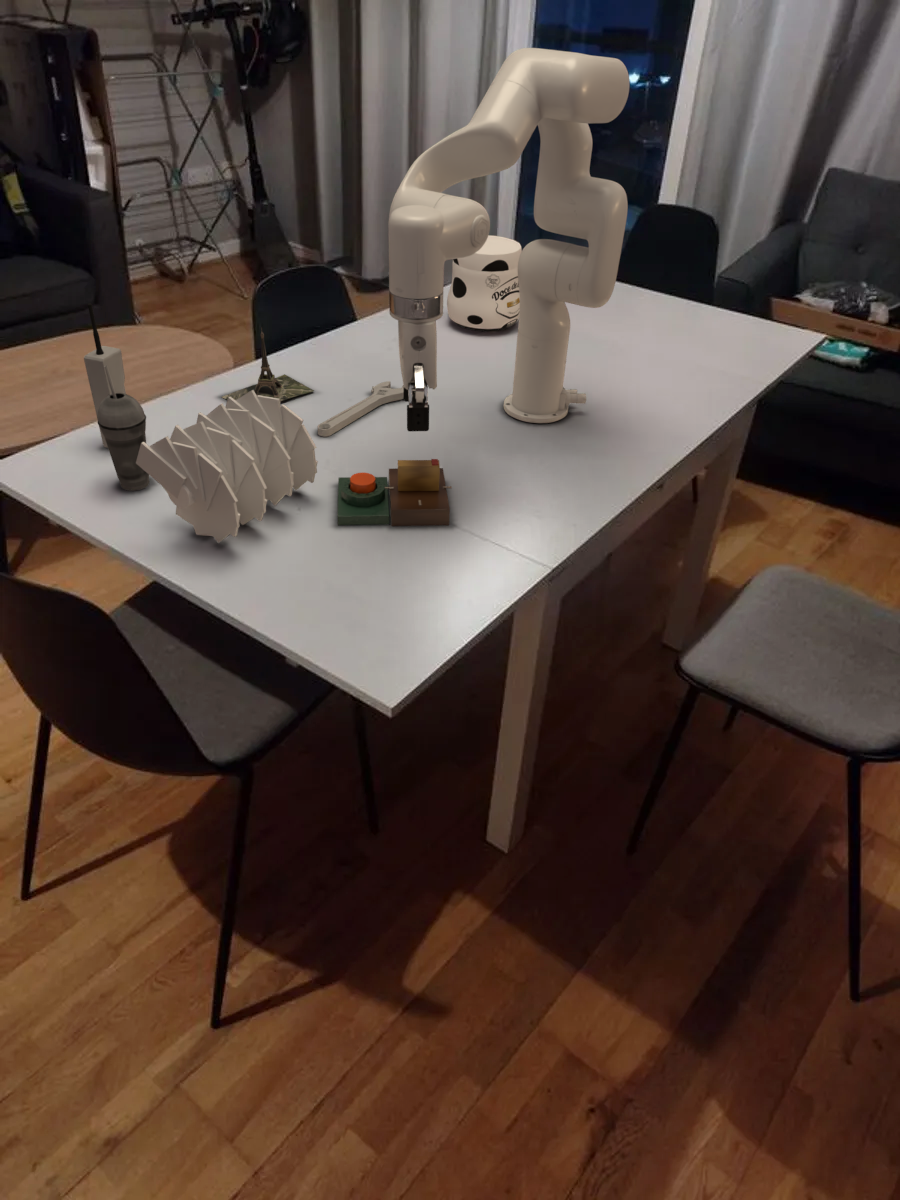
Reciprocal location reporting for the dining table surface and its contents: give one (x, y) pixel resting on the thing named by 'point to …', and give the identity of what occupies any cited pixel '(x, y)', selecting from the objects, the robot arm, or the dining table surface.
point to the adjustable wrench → (361, 408)
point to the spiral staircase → (232, 463)
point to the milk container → (486, 287)
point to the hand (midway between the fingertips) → (415, 415)
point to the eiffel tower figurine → (272, 383)
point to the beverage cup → (124, 436)
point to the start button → (362, 483)
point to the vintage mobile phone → (103, 370)
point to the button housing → (363, 504)
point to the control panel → (418, 504)
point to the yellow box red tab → (418, 475)
